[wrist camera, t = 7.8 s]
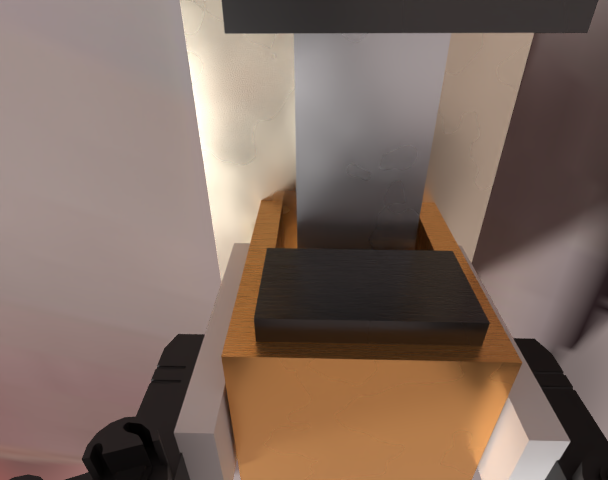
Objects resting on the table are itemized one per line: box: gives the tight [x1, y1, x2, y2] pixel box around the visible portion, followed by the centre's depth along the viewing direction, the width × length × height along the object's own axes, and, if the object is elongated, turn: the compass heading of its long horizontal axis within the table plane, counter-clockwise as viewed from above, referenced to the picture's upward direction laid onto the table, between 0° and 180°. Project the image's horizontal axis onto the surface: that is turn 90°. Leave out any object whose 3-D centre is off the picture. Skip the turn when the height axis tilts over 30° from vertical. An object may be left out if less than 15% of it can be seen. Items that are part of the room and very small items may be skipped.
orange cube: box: [221, 200, 522, 480], centre depth 11 cm, size 6×6×6 cm
